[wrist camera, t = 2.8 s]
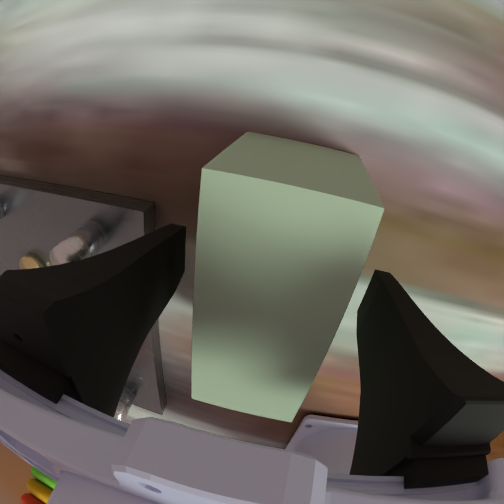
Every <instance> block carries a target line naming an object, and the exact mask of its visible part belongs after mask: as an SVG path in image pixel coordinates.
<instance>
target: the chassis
mask: <svg viewBox="0 0 504 504" xmlns="http://www.w3.org/2000/svg"><path fill="white" fill-rule="evenodd" d="M152 231H154V202H150V201H145V200H139V199H134V198H129V197H124V196H118V195H113V194H108V193H102V192H97V191H91V190H85V189H80V188H74V187H68V186H63V185H57V184H51V183H45V182H39V181H33V180H27V179H21V178H14V177H8V176H2V175H0V275H2V274H3V273H4V272H5V271H6V270H16V269H32V268H40V267H47V266H53V265H59V264H64V263H68V262H72V261H76V260H80V259H84V258H88V257H91V256H94V255H97V254H100V253H103V252H106V251H109V250H111V249H114V248H116V247H119V246H121V245H123V244H126V243H128V242H131V241H133V240H135V239H137V238H139V237H142V236H144V235H146V234H148V233H150V232H152ZM132 404H134V405H136V406H139V407H141V408H144V409H147V410H150V411H152V412H155V413H158V414H161V415H162V414H163V411H164V409H165V407H166V405H167V404H166V396H165V388H164V379H163V370H162V361H161V350H160V339H159V326H158V319H157V321H156V322H155V324H154V325H153V327H152V328H151V330H150V332H149V333H148V335H147V337H146V339H145V340H144V343H143V345H142V347H141V349H140V351H139V353H138V355H137V358H136V360H135V362H134V364H133V367H132V369H131V372H130V374H129V376H128V379H127V381H126V384H125V387H124V389H123V392H122V395H121V397H120V400H119V403H118V406H117V409H116V412H115V415H114V418H116V419H118V420H120V421H124V419H125V417H126V415H127V413H128V411H129V409H130V407H131V405H132Z"/></svg>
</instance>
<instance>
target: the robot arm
mask: <svg viewBox="0 0 504 504" xmlns="http://www.w3.org/2000/svg"><path fill="white" fill-rule="evenodd" d="M185 242H186V227H185V226H180V225H175V224H169V225H166V226H164V227H161V228H159V229H157V230H155V231H152V232H150V233H148V234H146V235H144V236H142V237H139V238H137V239H135V240H133V241H131V242H128V243H126V244H123V245H121V246H119V247H116V248H114V249H111V250H109V251H106V252H103V253H100V254H97V255H94V256H91V257H88V258H84V259H80V260H76V261H72V262H68V263H64V264H59V265H53V266H47V267H40V268H32V269H16V270H6V271H5V272H4V273H3V274H2V275H0V442H1V443H3V444H4V445H5V446H6V447H8V448H9V449H10V450H11V451H13V452H14V453H15V454H17V455H18V456H19V457H21V458H22V459H23V460H25V461H26V462H28V463H29V464H30V465H32V466H33V467H35V468H36V469H38V470H39V471H41V472H42V473H44V474H45V475H47V476H48V477H50V478H51V479H53V480H54V481H56V482H57V484H56V485H55V487H54V489H53V491H52V493H51V495H50V497H49V499H48V501H47V503H46V504H504V458H498V459H494V460H491V461H489V462H487V460H486V455H487V454H489V453H490V451H491V448H490V442H491V441H492V440H493V439H494V438H496V437H497V436H498V435H499V434H500V433H501V432H503V431H504V382H503V381H501V380H499V379H498V378H496V377H494V376H493V375H491V374H490V373H488V372H487V371H485V370H484V369H482V368H481V367H480V366H478V365H477V364H476V363H474V362H473V361H472V360H470V359H469V358H468V357H467V356H466V355H464V354H463V353H462V352H461V351H460V350H458V349H457V348H456V347H455V346H454V345H453V344H452V343H451V342H450V341H449V340H448V339H447V338H446V337H445V336H444V335H443V334H442V333H441V332H440V331H439V330H438V329H437V328H436V327H435V326H434V325H433V324H432V323H431V322H430V320H429V319H428V318H427V317H426V316H425V315H424V314H423V312H422V311H421V310H420V309H419V307H418V306H417V305H416V304H415V303H414V301H413V300H412V299H411V298H410V296H409V295H408V294H407V292H406V291H405V290H404V289H403V287H402V286H401V285H400V284H399V282H398V281H397V280H396V279H395V278H394V277H393V276H392V275H391V274H390V273H388V272H384V271H380V270H375V271H374V274H373V276H372V278H371V281H370V283H369V286H368V288H367V290H366V293H365V295H364V297H363V300H362V302H361V304H360V306H359V309H358V311H357V344H358V355H359V367H360V381H361V395H360V410H359V420H358V421H354V420H346V419H339V418H331V417H325V416H318V415H307V416H305V417H304V418H303V420H302V422H301V424H300V425H299V427H298V429H297V430H296V432H295V433H294V435H293V437H292V438H291V440H290V442H289V443H288V445H287V446H286V448H285V449H279V448H274V447H268V446H263V445H258V444H254V443H249V442H245V441H240V440H236V439H232V438H228V437H224V436H220V435H216V434H212V433H209V432H205V431H202V430H198V429H195V428H191V427H188V426H185V425H182V424H179V423H175V422H171V421H167V420H162V419H158V418H154V417H149V418H141V419H135V420H132V422H131V424H128V423H125V422H123V421H120V420H118V419H116V418H114V415H115V412H116V409H117V406H118V403H119V400H120V397H121V395H122V392H123V389H124V387H125V384H126V381H127V379H128V376H129V374H130V372H131V369H132V367H133V364H134V362H135V360H136V358H137V355H138V353H139V351H140V349H141V347H142V345H143V343H144V340H145V339H146V337H147V335H148V333H149V332H150V330H151V328H152V327H153V325H154V324H155V322H156V321H157V319H158V318H159V316H160V314H161V313H162V311H163V310H164V308H165V307H166V305H167V304H168V302H169V300H170V299H171V297H172V296H173V294H174V292H175V291H176V289H177V286H178V284H179V282H180V280H181V278H182V276H183V273H184V271H185Z"/></svg>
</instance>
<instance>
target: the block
mask: <svg viewBox="0 0 504 504" xmlns="http://www.w3.org/2000/svg"><path fill="white" fill-rule="evenodd" d="M383 211H384V206H383V204H382V202H381V200H380V198H379V196H378V193H377V191H376V189H375V187H374V185H373V183H372V181H371V179H370V177H369V175H368V173H367V171H366V169H365V167H364V165H363V163H362V161H361V159H360V157H359V156H358V155H355V154H351V153H347V152H343V151H339V150H335V149H331V148H327V147H323V146H318V145H314V144H309V143H305V142H300V141H296V140H291V139H286V138H281V137H276V136H271V135H265V134H260V133H254V132H248V131H247V132H246V133H245V134H244V135H242V136H241V137H240V138H238V139H237V140H236V141H235V142H233V143H232V144H231V145H230V146H228V147H227V148H226V149H225V150H223V151H222V152H221V153H220V154H218V155H217V156H216V157H215V158H213V159H212V160H211V161H210V162H209V163H207V164H206V165H205V166H204V167H203V168H202V173H201V184H200V196H199V209H198V223H197V238H196V255H195V273H194V296H193V325H192V399H195V400H198V401H202V402H205V403H209V404H212V405H216V406H220V407H224V408H228V409H231V410H236V411H240V412H244V413H248V414H252V415H257V416H261V417H266V418H271V419H276V420H281V421H286V422H292V421H293V419H294V417H295V415H296V413H297V411H298V409H299V408H300V406H301V404H302V402H303V400H304V398H305V396H306V394H307V392H308V390H309V388H310V386H311V384H312V382H313V380H314V378H315V376H316V374H317V372H318V370H319V368H320V366H321V364H322V362H323V360H324V358H325V356H326V354H327V351H328V349H329V347H330V345H331V343H332V341H333V338H334V336H335V334H336V332H337V329H338V327H339V325H340V323H341V320H342V318H343V316H344V313H345V311H346V309H347V306H348V304H349V302H350V299H351V297H352V294H353V292H354V290H355V287H356V285H357V282H358V280H359V277H360V275H361V272H362V269H363V267H364V264H365V262H366V259H367V256H368V254H369V251H370V248H371V246H372V243H373V240H374V237H375V234H376V232H377V229H378V226H379V223H380V220H381V217H382V214H383Z"/></svg>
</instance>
